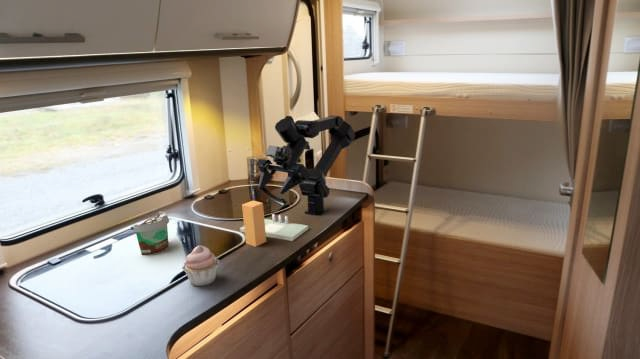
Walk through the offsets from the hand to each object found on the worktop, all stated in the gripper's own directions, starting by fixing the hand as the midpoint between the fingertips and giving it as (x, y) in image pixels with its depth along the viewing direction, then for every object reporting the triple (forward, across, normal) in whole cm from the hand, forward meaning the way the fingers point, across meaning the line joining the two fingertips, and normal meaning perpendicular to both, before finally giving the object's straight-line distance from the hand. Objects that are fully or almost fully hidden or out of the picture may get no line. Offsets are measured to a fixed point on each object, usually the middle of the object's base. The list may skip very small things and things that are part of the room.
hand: (269, 191), depth 140 cm
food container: (+30, -23, -5) cm, 38 cm away
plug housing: (+15, -1, +7) cm, 16 cm away
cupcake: (+34, +4, -9) cm, 35 cm away
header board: (+7, -2, +13) cm, 15 cm away
